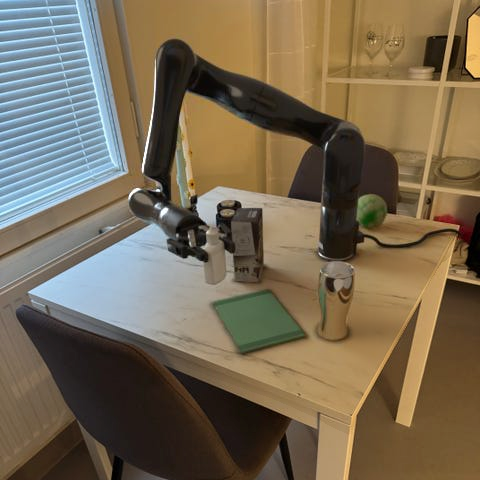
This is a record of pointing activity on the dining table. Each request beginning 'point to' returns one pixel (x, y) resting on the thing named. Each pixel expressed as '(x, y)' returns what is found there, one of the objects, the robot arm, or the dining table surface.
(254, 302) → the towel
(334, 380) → the dining table surface
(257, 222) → the coffee box
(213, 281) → the eye dropper bottle
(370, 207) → the decorative ball
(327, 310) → the beer glass
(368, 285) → the dining table surface
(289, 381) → the dining table surface
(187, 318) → the dining table surface
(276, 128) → the robot arm
